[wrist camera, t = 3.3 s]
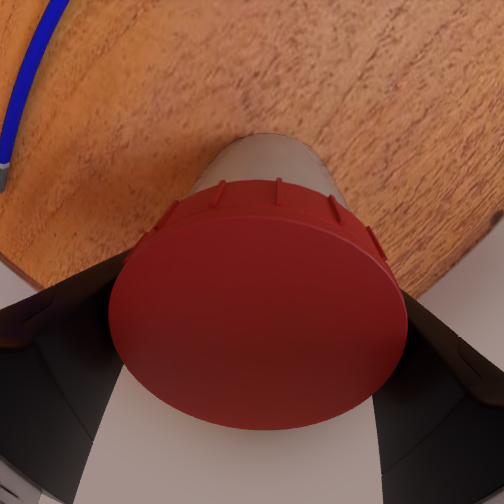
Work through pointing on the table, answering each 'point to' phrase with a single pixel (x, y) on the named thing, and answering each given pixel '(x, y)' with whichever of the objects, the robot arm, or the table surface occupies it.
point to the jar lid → (259, 307)
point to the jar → (270, 165)
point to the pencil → (26, 83)
